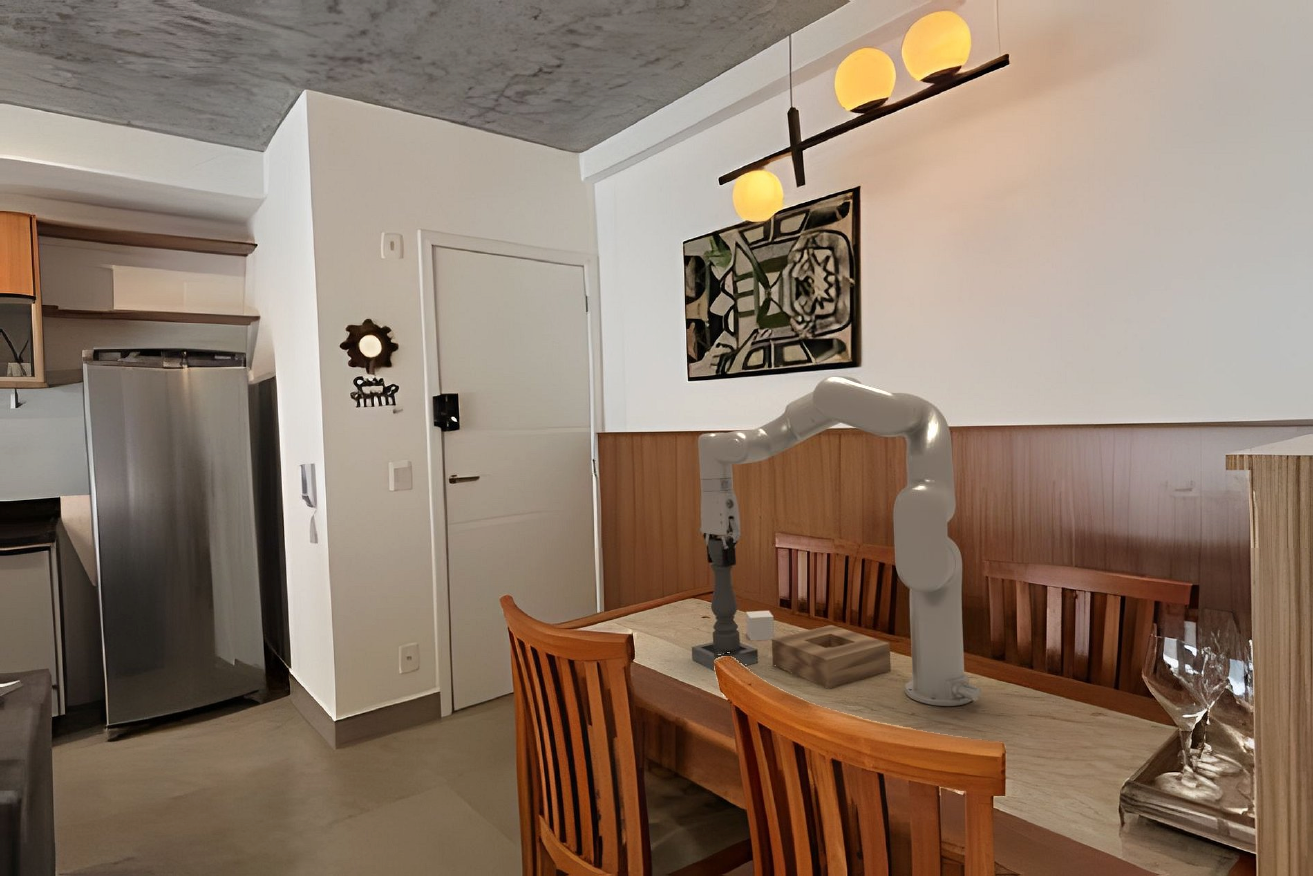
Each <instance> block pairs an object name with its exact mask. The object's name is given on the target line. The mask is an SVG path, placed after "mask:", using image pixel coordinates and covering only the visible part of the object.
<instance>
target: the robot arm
mask: <svg viewBox="0 0 1313 876" xmlns="http://www.w3.org/2000/svg"><path fill="white" fill-rule="evenodd" d="M839 424H844V425H845V426H850V427H852V428H855V429H859V430H862V431H864V432H868V433H871V434H873V435H877V436H880V437H886V438H895V437H904V439H905V442H906V454H905V455H906V456H905V458H906V459H905V463H906V486H905V487H904V488H903V489H902V490H901V491H899V493H898V494H897V497H896V498H895V502H894V505H893V512H892V514H893V517H892V518H893V537H894V538H893V540H894V562H895V568H896V572H897V575H898V578H899V579H900V580H901V582H902V583H903V584H904V585H905V586H906V587H907V588H908V589H909V625H910V627H909V628H910V648H911V668H912V670H911V671H912V679H911V680H909V681H907V682H906V683H905V685H904V693H905V694H906V695H907V696H908V698H910V699H912V700H914V701H916V702H920V703H922V704H927V705H932V706H940V707H957V706H961V705H962V706H963V705H966V704H968V703H970V702H973V701H974V702H976V701H977V700H978V699H979V695H980V694H981V692H982V690H981V687H979V686H976V685H973V684H971V683H970V675H969V674H965V662H964V658H965V656H964V638H963V637H964V635H963V633H964V632H963V609H962V582H963V560H962V559H963V558H962V553H961V552H960V549H959V547H958V545H957V543H956V542H955V541H954V540H952V539H951V538H950V537H949V536H948V523H949V521H950V520H952V519H953V517H954V515H955V512H956V508H957V507H956V506H957V505H956V504H957V503H956V497H955V496H956V495H955V480H954V479H955V478H954V477H955V476H954V465H953V464H954V463H953V448H952V447H953V446H952V437H951V430H950V427H949V424H948V421H947V420H946V418H945V415H943V413H942V412H941V410H939V408H937V406H935V404H933V403H931V402H930V401H929V400H926V399H925V398H922V397H920V396H917V395H914V394H911V393H905V392H904V393H903V392H892V391H891V392H890V391H886V390H884V389H880V388H876V387H872V386H869V385H865V384H863V383H862V382H861V381H860V380H858V379H856V378H854V377H851V376H845V375H843V376H842V375H831V376H828V377H825V378H824V379H822V380H820V381H819V383H817V385H816V386H815V387H814V389H813V391H812V392H809V393H807V394H805V395H803V396H801V397H799V398H797V399H795V400H793V401H791V402H789V403H788V404H787V405H786V406H785V409H784V412H783V413H782V414H781V415H780V416H778V417H776V418H775V419H773V420H772V421H769V422H767V423H765V424H764V425H761V426H758V427H757V428H754V429H741V430H734V431H729V432H711V433H702V434H700V435H699V437H698V440H697V441H698V443H697V444H698V445H697V446H698V447H697V448H698V449H697V450H698V461H699V462H698V463H699V477H700V493H701V496H700V523H701V525H700V527H699V531H700V533H702V535H703V536H702V537H703V538H704V540H705V542H704V544H705V546H706V554H707V563H708V564H711V563H712V564H713V561H712V558H711V557H710V554H709V547H708V540H709V539H713V538H719V537H720V538H722V542H723V546H724V549H722V555H723V566H732V565H733V566H735V565H737V559H736V557H737V556H736V548H737V544H738V541H739V540H740V537H741V536H742V533H741V520H740V511H739V503H738V500H737V495H736V493H735V491H734V476H733V465H743V464H744V465H745V464H749V463H756V462H757V463H758V462H761V461H765V460H767V459H769V458H771V457H773V456H775V455H778V454H780V453H782V452H784V451H786V450H788V449H791V448H792V447H794V446H795V445H797V444H799V443H802V442H804V441H806V440H807V439H809V438H811V437H813V436H814V435H817V434H819V433H821V432H824V431H825V430H828V429H829V428H832V427H833V426H837V425H839ZM727 538H729V540H728V542H727Z"/></svg>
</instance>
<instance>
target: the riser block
mask: <svg viewBox="0 0 1313 876" xmlns="http://www.w3.org/2000/svg"><path fill="white" fill-rule="evenodd" d="M771 651H772V652H771V653H772V666H773V665H776V666H777V667H776V666H775V667H776V668H778V667H780V668H782V669H781V670H783V669H785V670H787V671H788V673H790V672H792V673H793V674H792V673H791V674H792V675H795V674H796V675H795V676H797V677H799V676H800V678H802V679H804V678H805V679H804V680H806V679H807V681H809V680H810V681H809V682H811V683H814V684H816V685H818V686H820V685H822V686H821V687H823V686H824V687H823V688H825V687H827V688H829V689H832V688H831V687H833V688H835V687H838V686H837V685H839V686H842V685H845V684H846V685H847V684H850V683H853V682H856V681H855V680H857V681H860V680H863V679H862V678H864V679H867V678H870V677H869V676H871V677H874V676H877V675H880V674H884V673H887V672H891V670H892V669H891V668H892V666H891V664H892V663H891V643H890V642H889V641H888V642H887V641H884V640H881V639H879V638H878V639H877V638H875V637H872V636H868V635H865V634H862V633H858V632H856V631H852V630H850V629H849V630H848V629H845V628H842V627H839V626H837V625H836V626H835V625H831V624H830V625H829V624H828V625H826V626H822V627H821V626H820V627H817V628H813V629H808V630H805V631H800V632H795V633H792V634H786V635H783V636H779V637H774V639H772V640H771ZM780 668H779V669H780ZM785 670H784V671H785ZM787 671H786V672H787ZM883 672H884V673H883ZM876 674H877V675H876ZM873 675H874V676H873ZM859 679H860V680H859ZM852 681H853V682H852ZM827 688H826V689H827Z"/></svg>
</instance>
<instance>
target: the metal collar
mask: <svg viewBox="0 0 1313 876" xmlns="http://www.w3.org/2000/svg"><path fill="white" fill-rule="evenodd" d="M758 651H759V650H758V649H757V648H755V647H752V646H750V645H747V644H745V643H742V642H740V647H739V648H738V649H736V650H731V651H720V650H716V649H714V647H713V641H711V642H709V643H708V642H707V643H703V644H699V645H695V646H691V659H693V660H692V661H694V660H696V661H697V662H696V661H695V662H696V663H698V664H700V663H701V665H702V666H704V665H705V666H704V667H706V666H707V668H708V667H710V668H709V669H711V670H712V669H713V671H714V660H715V659H716V658H718V657H721V656H732V657H734V658H736V660H738V661H739V663H742V664H743V665H745V664H747V665H745V666H744V667H746V666H750V665H754V664H757V663H756V662H758V663H759V655H758V654H759V652H758ZM727 652H730V654H729V653H728V654H723V653H727ZM718 654H721V655H719V656H718ZM753 663H754V664H753Z"/></svg>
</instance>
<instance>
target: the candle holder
mask: <svg viewBox="0 0 1313 876" xmlns="http://www.w3.org/2000/svg"><path fill="white" fill-rule="evenodd" d="M729 538H730V537H729ZM729 538H727V542H728V540H729ZM707 546H708V547H709V554H710V557H711V558H712V561H713V563H712V564H711V565H710V569H711V570H712V572H713V579H714V581H713V582H714V587H713V593H712V598H711V599H712V600H711V605H710V609H711V611H712V613H713V615H714V616H715V619H716V621H715V622H714V625H713V626H712V627H713V630H714V631H713V632H712V642H713V647H714V649H716V650H720V651H731V650H736V649H738V648H739V647H740V643H741V642H740V641H741V638H740V637H741V636H740V631H739V630H738V627H739V625H738V623H737V622H736V621H735V620H734V619H735V617H736V616H735V615H736V614H737V611H738V605H739V604H738V602H737V599H736V596H735V595H736V594H735V592H734V587H733V585H732V572H731V571H732V569H734V565H732V566H723V555H722V549H724V546H723V542H722V538H721V537H718V538H713V539H709V540H708V545H707Z"/></svg>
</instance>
